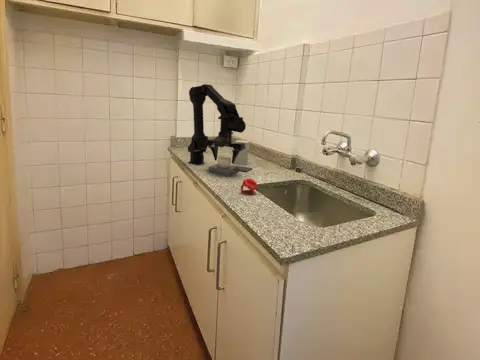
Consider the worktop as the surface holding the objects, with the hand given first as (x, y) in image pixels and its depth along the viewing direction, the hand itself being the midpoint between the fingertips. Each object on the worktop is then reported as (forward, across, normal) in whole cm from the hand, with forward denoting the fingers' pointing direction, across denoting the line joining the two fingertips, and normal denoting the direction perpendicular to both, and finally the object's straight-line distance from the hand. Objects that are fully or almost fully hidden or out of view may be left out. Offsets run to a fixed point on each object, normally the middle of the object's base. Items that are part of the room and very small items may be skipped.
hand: (224, 161), depth 152 cm
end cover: (+5, 0, 0) cm, 5 cm away
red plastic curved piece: (+6, +22, -24) cm, 33 cm away
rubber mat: (+5, +5, +12) cm, 14 cm away
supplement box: (+6, -2, +26) cm, 27 cm away
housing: (+5, 0, 0) cm, 5 cm away
